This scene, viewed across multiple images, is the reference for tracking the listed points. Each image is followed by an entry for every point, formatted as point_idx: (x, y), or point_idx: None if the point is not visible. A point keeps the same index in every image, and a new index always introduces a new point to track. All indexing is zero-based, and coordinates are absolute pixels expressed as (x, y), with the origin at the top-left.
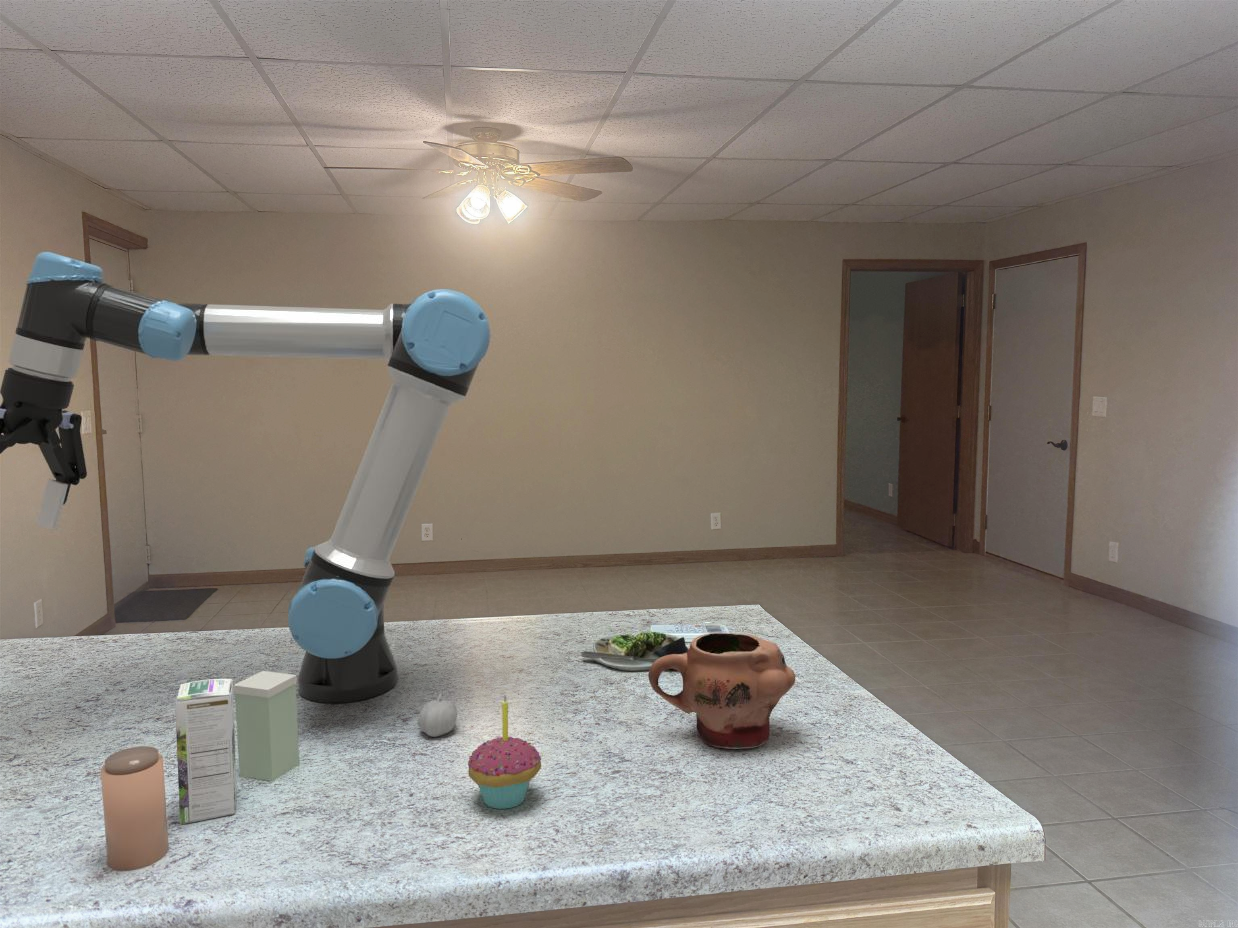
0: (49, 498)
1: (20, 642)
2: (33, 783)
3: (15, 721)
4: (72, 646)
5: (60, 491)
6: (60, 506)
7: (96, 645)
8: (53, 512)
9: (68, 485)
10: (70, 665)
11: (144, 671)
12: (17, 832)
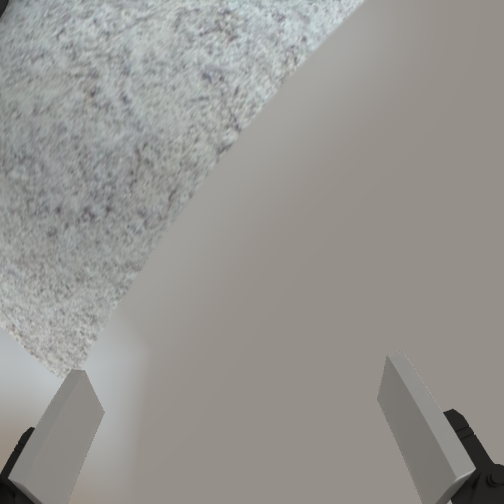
0: (66, 460)
1: None
2: (265, 74)
3: (160, 233)
4: (41, 346)
5: (36, 466)
6: (46, 420)
7: (27, 332)
8: (68, 413)
9: (6, 475)
10: (58, 312)
11: (22, 238)
12: (341, 16)
